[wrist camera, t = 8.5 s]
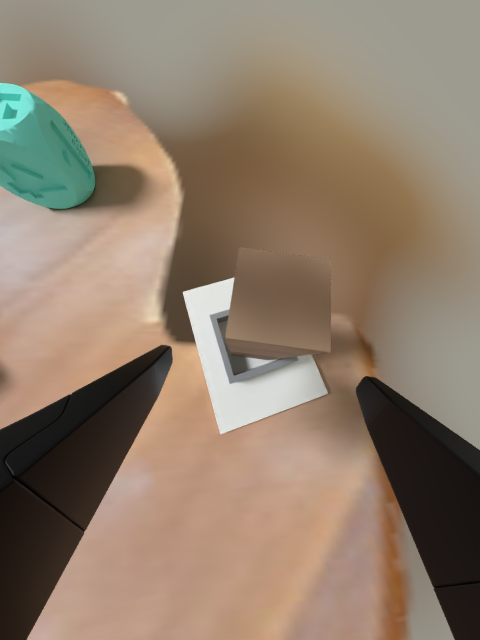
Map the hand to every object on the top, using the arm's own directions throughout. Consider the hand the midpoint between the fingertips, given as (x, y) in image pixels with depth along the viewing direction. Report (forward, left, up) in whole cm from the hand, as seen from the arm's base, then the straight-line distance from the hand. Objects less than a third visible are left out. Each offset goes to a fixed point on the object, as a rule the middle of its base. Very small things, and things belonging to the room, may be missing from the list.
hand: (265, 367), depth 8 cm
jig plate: (+3, -1, -12) cm, 12 cm away
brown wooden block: (+3, -1, -11) cm, 12 cm away
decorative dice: (+32, +17, -12) cm, 38 cm away
